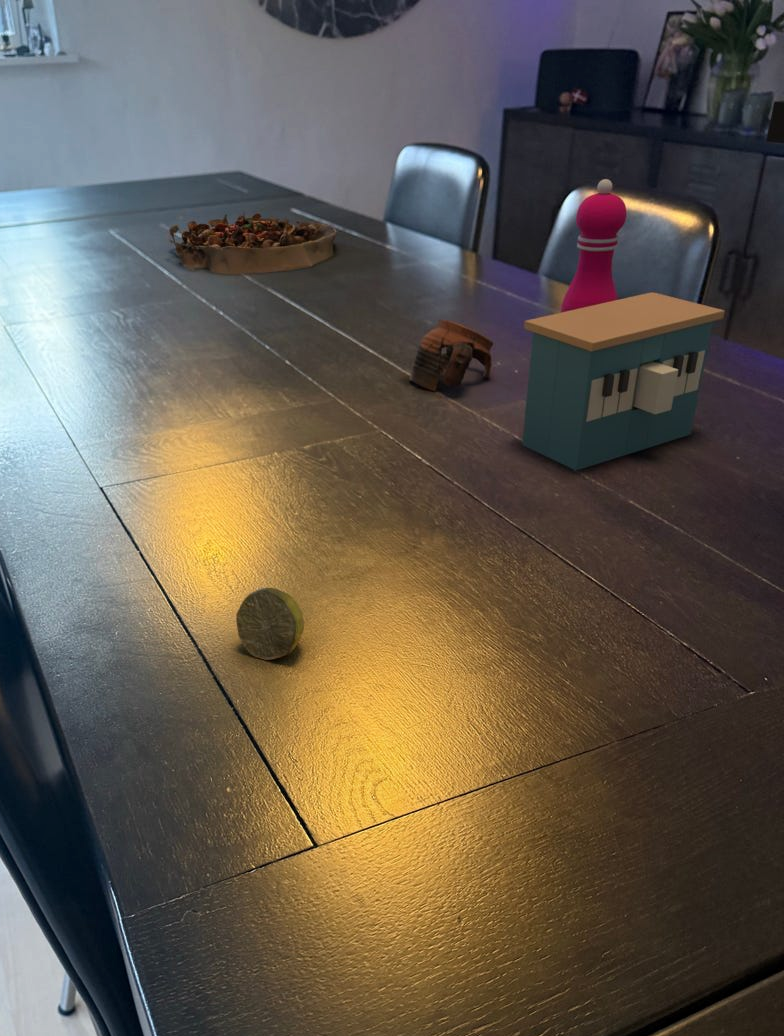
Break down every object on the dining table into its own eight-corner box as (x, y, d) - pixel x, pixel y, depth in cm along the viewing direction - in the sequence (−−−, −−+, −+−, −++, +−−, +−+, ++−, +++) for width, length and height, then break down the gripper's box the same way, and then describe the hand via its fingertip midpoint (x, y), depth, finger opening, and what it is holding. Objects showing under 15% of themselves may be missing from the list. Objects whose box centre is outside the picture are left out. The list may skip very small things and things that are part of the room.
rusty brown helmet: (397, 377, 118) (425, 314, 116) (462, 406, 120) (491, 345, 118) (416, 382, 107) (447, 313, 104) (488, 415, 109) (520, 347, 106)
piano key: (671, 410, 90) (678, 369, 88) (655, 414, 89) (662, 373, 87) (638, 398, 93) (645, 358, 91) (622, 402, 92) (628, 362, 90)
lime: (307, 664, 66) (304, 605, 63) (239, 670, 66) (233, 610, 63) (302, 630, 70) (299, 572, 67) (238, 635, 70) (232, 578, 67)
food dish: (169, 246, 195) (165, 205, 191) (325, 238, 197) (325, 198, 193) (167, 278, 165) (162, 231, 161) (350, 268, 168) (350, 222, 164)
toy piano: (699, 435, 97) (725, 310, 90) (575, 474, 90) (592, 342, 83) (633, 410, 104) (652, 291, 97) (513, 445, 97) (524, 320, 90)
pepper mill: (624, 343, 124) (649, 178, 112) (587, 355, 120) (609, 186, 109) (582, 332, 129) (602, 172, 118) (545, 342, 126) (562, 179, 114)
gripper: (1032, 229, 54) (706, 184, 71) (1150, 201, 59) (819, 165, 76) (1087, 78, 50) (727, 69, 67) (1210, 62, 55) (845, 58, 72)
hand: (776, 120), depth 72 cm, fingers closed
